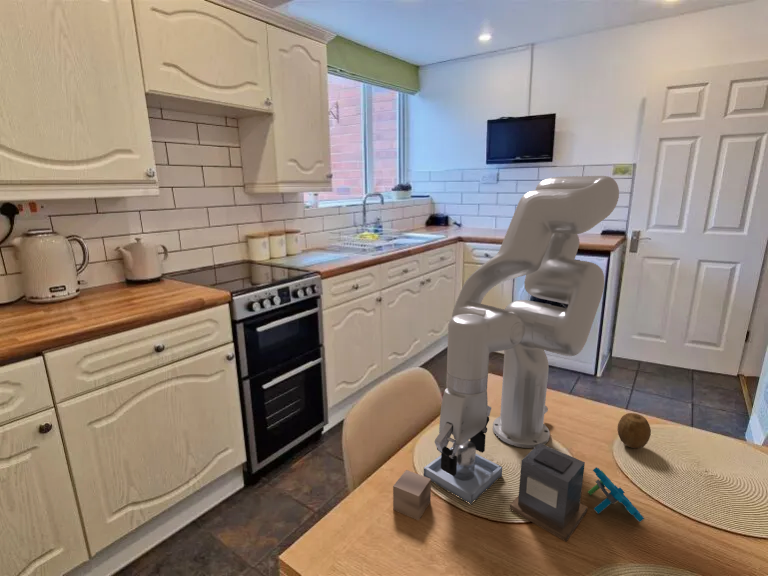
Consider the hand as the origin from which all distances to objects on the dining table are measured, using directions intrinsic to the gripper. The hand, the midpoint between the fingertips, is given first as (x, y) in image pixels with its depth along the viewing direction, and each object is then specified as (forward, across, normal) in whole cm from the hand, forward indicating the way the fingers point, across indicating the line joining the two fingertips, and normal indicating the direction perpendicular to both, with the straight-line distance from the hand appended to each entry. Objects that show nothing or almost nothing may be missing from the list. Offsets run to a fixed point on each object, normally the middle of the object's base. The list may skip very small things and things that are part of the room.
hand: (463, 460), depth 82 cm
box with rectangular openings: (+4, -3, +16) cm, 17 cm away
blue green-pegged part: (+4, -11, +24) cm, 27 cm away
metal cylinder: (+3, 0, 0) cm, 3 cm away
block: (+4, +13, -2) cm, 14 cm away
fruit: (+4, -34, +21) cm, 40 cm away
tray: (+4, 0, 0) cm, 4 cm away
